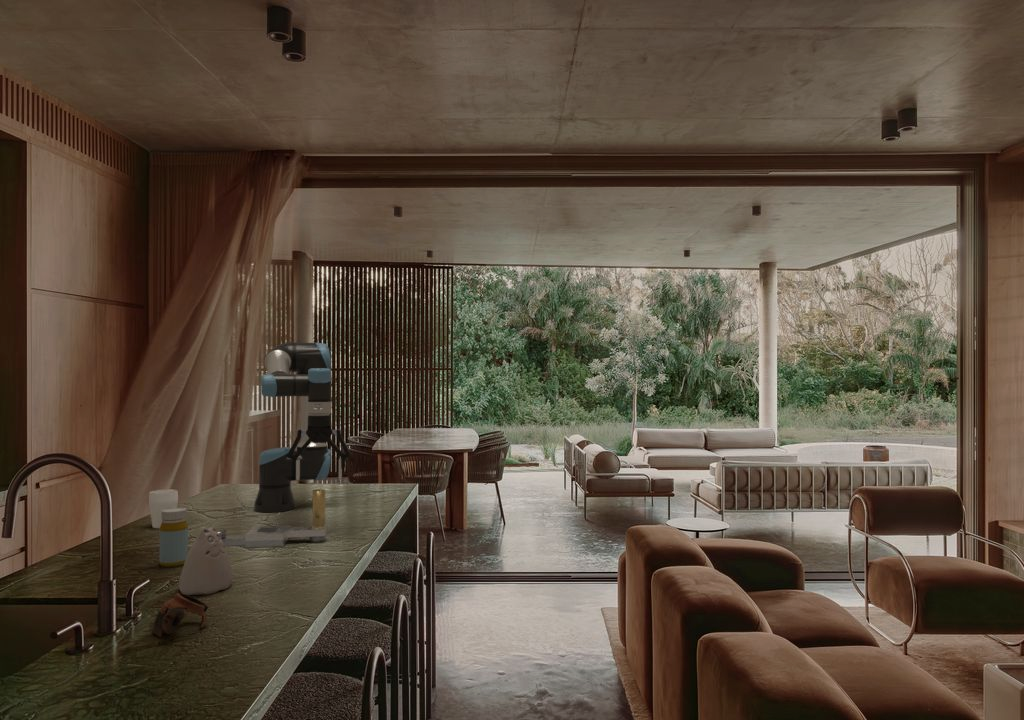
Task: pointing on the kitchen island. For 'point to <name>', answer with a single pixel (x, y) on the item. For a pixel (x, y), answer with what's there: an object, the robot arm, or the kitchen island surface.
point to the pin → (318, 507)
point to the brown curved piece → (177, 613)
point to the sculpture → (206, 565)
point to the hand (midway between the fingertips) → (319, 479)
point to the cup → (161, 504)
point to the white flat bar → (273, 535)
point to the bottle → (173, 537)
